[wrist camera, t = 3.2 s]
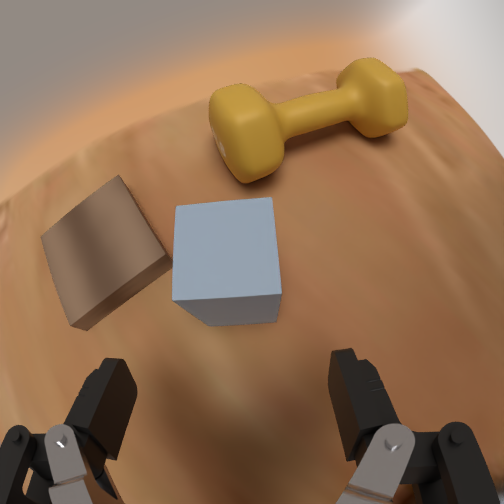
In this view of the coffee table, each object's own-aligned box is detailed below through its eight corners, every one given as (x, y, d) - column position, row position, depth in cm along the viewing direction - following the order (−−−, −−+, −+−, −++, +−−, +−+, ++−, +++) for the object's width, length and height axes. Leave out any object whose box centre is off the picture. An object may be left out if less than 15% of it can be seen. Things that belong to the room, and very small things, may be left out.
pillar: (270, 259, 23) (271, 197, 15) (276, 322, 21) (281, 293, 13) (208, 264, 23) (175, 206, 15) (209, 326, 21) (172, 300, 13)
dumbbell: (355, 98, 30) (368, 45, 23) (402, 148, 27) (428, 93, 20) (208, 141, 28) (193, 79, 21) (243, 207, 25) (233, 143, 17)
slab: (130, 191, 27) (118, 174, 24) (177, 267, 24) (165, 253, 21) (57, 248, 25) (40, 236, 22) (89, 331, 22) (70, 326, 19)
